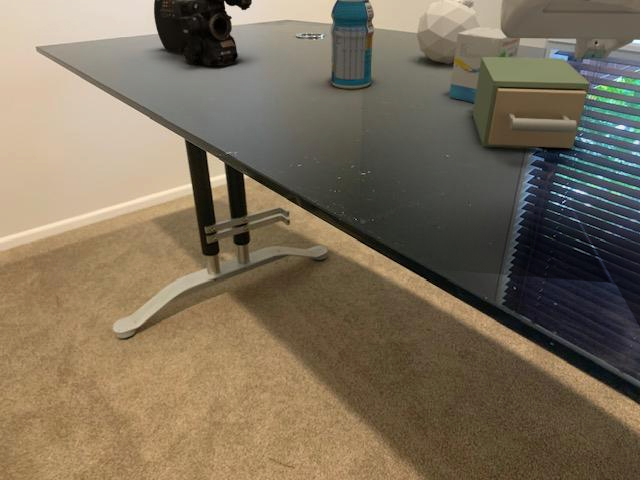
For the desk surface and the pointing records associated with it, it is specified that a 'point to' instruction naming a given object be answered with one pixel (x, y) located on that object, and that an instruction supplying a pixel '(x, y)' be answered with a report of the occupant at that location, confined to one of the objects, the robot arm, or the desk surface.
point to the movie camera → (198, 29)
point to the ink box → (477, 58)
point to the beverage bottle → (351, 43)
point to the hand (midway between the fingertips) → (589, 53)
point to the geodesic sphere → (445, 28)
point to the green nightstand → (519, 84)
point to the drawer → (536, 116)
